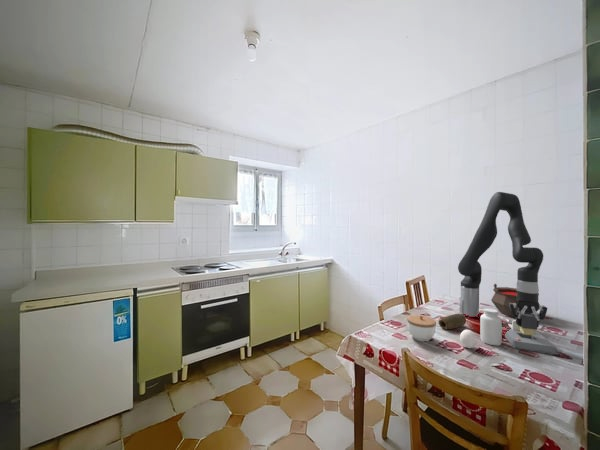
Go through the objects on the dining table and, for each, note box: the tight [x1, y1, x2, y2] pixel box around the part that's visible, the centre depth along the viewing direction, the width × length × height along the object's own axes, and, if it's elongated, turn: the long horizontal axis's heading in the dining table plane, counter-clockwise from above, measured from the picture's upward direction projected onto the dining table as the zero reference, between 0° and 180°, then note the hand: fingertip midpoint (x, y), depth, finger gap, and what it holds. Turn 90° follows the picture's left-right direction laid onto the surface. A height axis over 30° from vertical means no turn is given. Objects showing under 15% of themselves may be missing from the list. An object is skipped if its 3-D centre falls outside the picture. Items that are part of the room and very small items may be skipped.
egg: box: [459, 329, 478, 349], centre depth 113 cm, size 6×6×8 cm
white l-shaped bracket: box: [507, 319, 520, 331], centre depth 125 cm, size 6×6×4 cm
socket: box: [502, 326, 557, 355], centre depth 117 cm, size 14×16×4 cm
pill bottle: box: [479, 308, 503, 346], centre depth 118 cm, size 8×8×15 cm
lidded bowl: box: [406, 314, 437, 343], centre depth 122 cm, size 13×13×11 cm
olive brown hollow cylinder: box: [438, 313, 467, 330], centre depth 134 cm, size 15×7×7 cm, turn 117°
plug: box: [520, 314, 538, 336], centre depth 117 cm, size 5×5×8 cm
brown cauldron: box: [490, 283, 540, 318], centre depth 153 cm, size 24×24×16 cm
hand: (527, 326), depth 117 cm, fingers closed on plug, 5 cm apart
